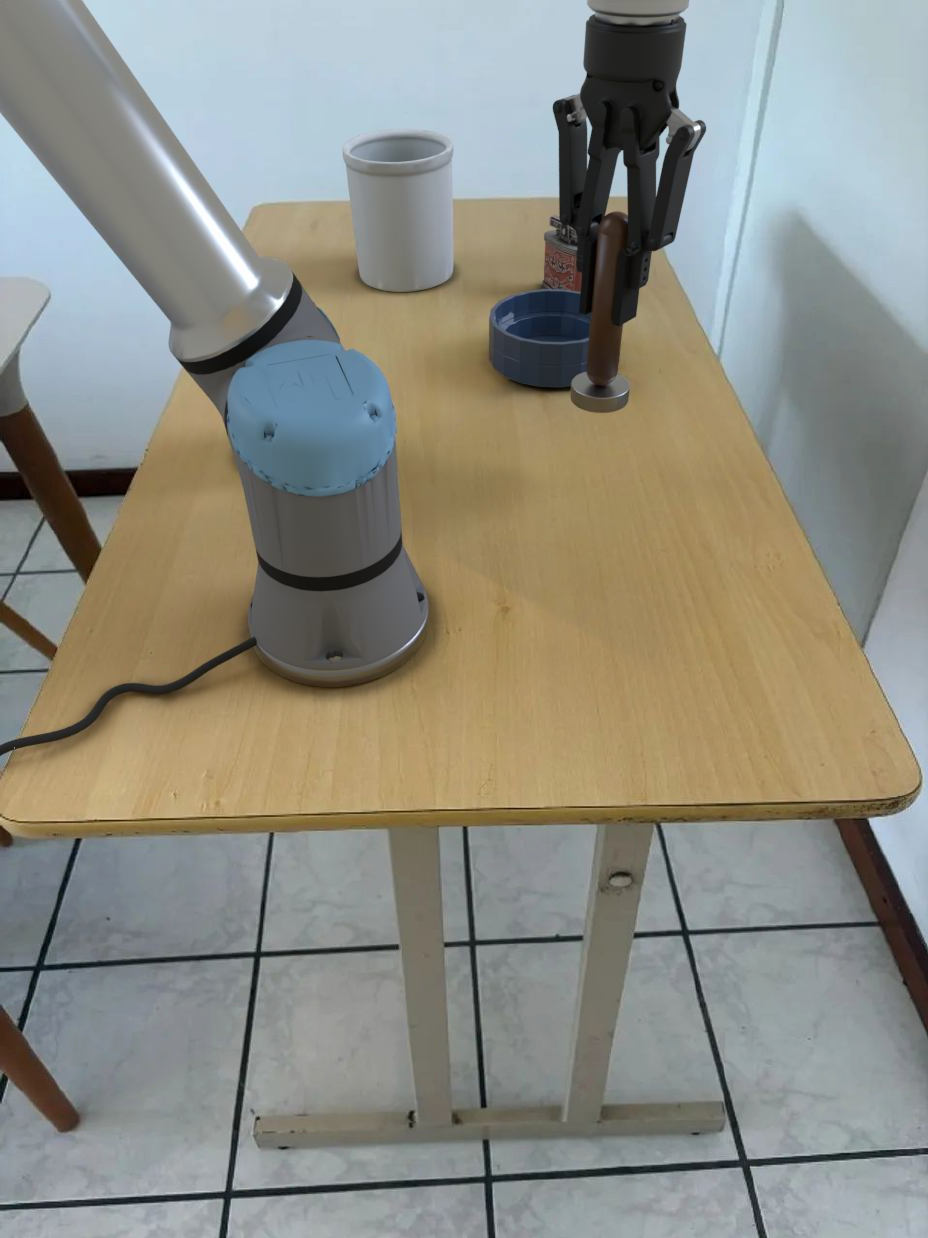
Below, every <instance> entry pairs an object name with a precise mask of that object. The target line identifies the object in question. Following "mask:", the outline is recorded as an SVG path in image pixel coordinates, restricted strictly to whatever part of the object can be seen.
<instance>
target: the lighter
mask: <svg viewBox="0 0 928 1238" xmlns="http://www.w3.org/2000/svg"><path fill="white" fill-rule="evenodd" d="M549 226H550V227H552V228H553V229H554V230H553V229H552V230H547V231H545V232H544V233H543V240H544V243H545V245H544V266H543V280H542V281H541V289H563V290H571V291H577V292H581V280H582V273H581V272H578V271H577V268H576V259H577V245H578V236H577V234H576V231H575V230H574V229H573V228H572V227H570V226H569V225H567V226H564V225H562V224H561V222H560V218H559V215H557V214H553V215H550V217H549Z"/></svg>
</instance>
